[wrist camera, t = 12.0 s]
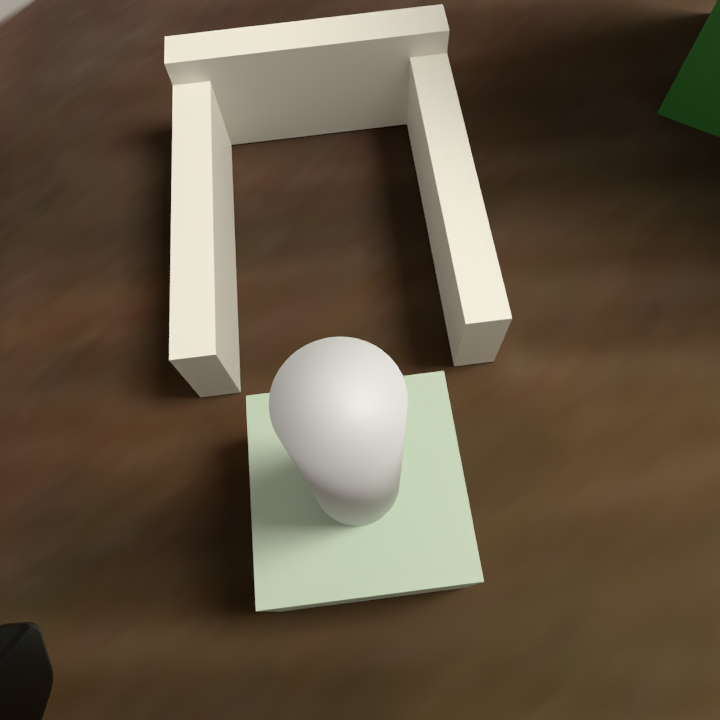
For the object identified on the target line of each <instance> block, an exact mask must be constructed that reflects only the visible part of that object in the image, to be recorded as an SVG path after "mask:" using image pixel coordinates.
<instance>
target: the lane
mask: <svg viewBox="0 0 720 720" xmlns="http://www.w3.org/2000/svg"><path fill="white" fill-rule="evenodd" d="M449 31H450V30H449V26H448V22H447V18H446V14H445V11H444V7H443V4H440V5H431V6H422V7H414V8H405V9H397V10H388V11H380V12H371V13H363V14H354V15H345V16H337V17H328V18H320V19H311V20H303V21H294V22H286V23H277V24H268V25H260V26H251V27H243V28H234V29H226V30H217V31H208V32H200V33H191V34H183V35H174V36H166V37H165V51H164V65H165V67H166V70H167V72H168V75H169V77H170V80H171V82H172V84H173V109H172V179H171V248H170V318H169V361H170V362H171V363H172V365H173V366H174V367H175V368H176V369H177V370H178V372H179V373H180V374H181V375H182V376H183V377H184V379H185V380H186V381H187V382H188V383H189V384H190V386H191V387H192V388H193V389H194V390H195V391H196V393H197V394H198V395H199V396H200V397H208V396H216V395H224V394H232V393H240V392H241V387H240V360H239V334H238V307H237V280H236V254H235V227H234V200H233V174H232V147H231V145H235V144H244V143H252V142H261V141H269V140H277V139H286V138H294V137H303V136H311V135H320V134H328V133H336V132H345V131H353V130H362V129H370V128H379V127H387V126H395V125H404V124H407V127H408V132H409V137H410V143H411V148H412V153H413V158H414V163H415V168H416V174H417V179H418V184H419V189H420V194H421V199H422V204H423V210H424V215H425V220H426V225H427V230H428V235H429V240H430V246H431V251H432V256H433V261H434V266H435V271H436V276H437V282H438V287H439V292H440V297H441V302H442V307H443V313H444V318H445V323H446V328H447V333H448V338H449V343H450V349H451V354H452V359H453V364H454V366H461V365H469V364H477V363H486V362H494V360H495V357H496V355H497V353H498V350H499V348H500V346H501V343H502V341H503V339H504V336H505V334H506V332H507V329H508V327H509V325H510V322H511V320H512V316H511V312H510V308H509V303H508V299H507V295H506V291H505V287H504V283H503V279H502V275H501V271H500V267H499V263H498V259H497V255H496V250H495V246H494V242H493V238H492V234H491V230H490V226H489V222H488V218H487V214H486V210H485V206H484V202H483V198H482V193H481V189H480V185H479V181H478V177H477V173H476V169H475V165H474V161H473V157H472V153H471V149H470V145H469V140H468V136H467V132H466V128H465V124H464V120H463V116H462V112H461V108H460V104H459V100H458V96H457V92H456V88H455V83H454V79H453V75H452V71H451V67H450V63H449V59H448V55H447V49H448V40H449Z"/></svg>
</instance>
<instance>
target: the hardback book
mask: <svg viewBox="0 0 720 720" xmlns="http://www.w3.org/2000/svg"><path fill="white" fill-rule="evenodd" d="M657 114H658V115H661V116H664V117H666V118H669V119H672V120H675V121H677V122H680V123H683V124H685V125H688V126H691V127H693V128H696V129H699V130H701V131H704V132H707V133H709V134H712V135H715V136H717V137H720V0H717V2H716V4H715V6H714V8H713V10H712V11H711V13H710V15H709V17H708V19H707V21H706V23H705V24H704V26H703V28H702V30H701V32H700V34H699V36H698V38H697V39H696V41H695V43H694V45H693V47H692V49H691V51H690V52H689V54H688V56H687V58H686V60H685V62H684V64H683V65H682V67H681V69H680V71H679V73H678V75H677V77H676V78H675V80H674V82H673V84H672V86H671V88H670V90H669V91H668V93H667V95H666V97H665V99H664V101H663V103H662V104H661V106H660V108H659V110H658V112H657Z"/></svg>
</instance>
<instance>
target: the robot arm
mask: <svg viewBox="0 0 720 720" xmlns="http://www.w3.org/2000/svg"><path fill="white" fill-rule="evenodd" d="M52 684H53V670H52V666H51V663H50V659H49V656H48V653H47V650H46V646H45V643H44V640H43V637H42V633H41V631H40V628H39V627H38V626H37V625H36V624H35V623H32V622H23V623H9V624H4V625H0V720H42V717H43V714H44V711H45V708H46V705H47V702H48V699H49V696H50V693H51V689H52Z"/></svg>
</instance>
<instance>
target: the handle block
mask: <svg viewBox="0 0 720 720" xmlns="http://www.w3.org/2000/svg"><path fill="white" fill-rule="evenodd" d="M246 409H247V431H248V453H249V474H250V496H251V518H252V540H253V562H254V584H255V606H256V611H267V612H282V611H290V610H297V609H305V608H313V607H320V606H328V605H336V604H343V603H351V602H359V601H367V600H374V599H382V598H390V597H397V596H405V595H413V594H420V593H428V592H436V591H443V590H451V589H459V588H466V587H469V586H472V585H475V584H478V583H481V582H484V579H483V574H482V569H481V564H480V558H479V553H478V548H477V543H476V537H475V532H474V527H473V522H472V516H471V511H470V506H469V501H468V495H467V490H466V485H465V480H464V474H463V469H462V464H461V458H460V453H459V448H458V443H457V437H456V432H455V427H454V422H453V416H452V411H451V406H450V401H449V395H448V390H447V385H446V380H445V374H444V371H439V372H431V373H423V374H415V375H407V376H403V375H402V373H401V372H400V370H399V368H398V366H397V365H396V364H395V362H394V361H393V360H392V359H391V358H390V357H389V356H388V355H387V354H386V353H385V352H384V351H382V350H381V349H380V348H378V347H376V346H375V345H373V344H371V343H368V342H366V341H363V340H360V339H356V338H351V337H330V338H324V339H320V340H317V341H314V342H312V343H310V344H307V345H305V346H304V347H302V348H300V349H299V350H297V351H296V352H295V353H294V354H292V355H291V356H290V357H289V358H288V359H287V360H286V361H285V363H284V364H283V365H282V366H281V368H280V369H279V371H278V373H277V374H276V376H275V379H274V381H273V383H272V387H271V390H270V393H264V394H257V395H249V396H246Z"/></svg>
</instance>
